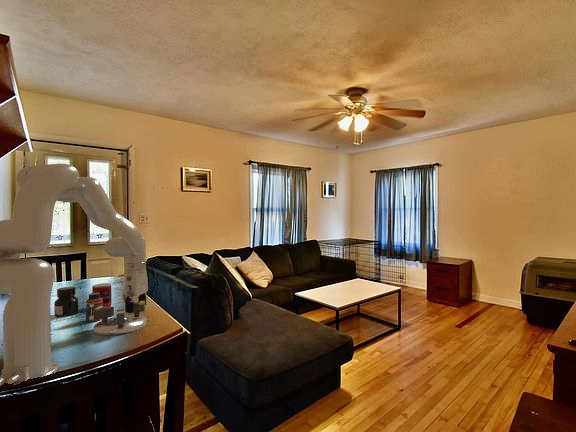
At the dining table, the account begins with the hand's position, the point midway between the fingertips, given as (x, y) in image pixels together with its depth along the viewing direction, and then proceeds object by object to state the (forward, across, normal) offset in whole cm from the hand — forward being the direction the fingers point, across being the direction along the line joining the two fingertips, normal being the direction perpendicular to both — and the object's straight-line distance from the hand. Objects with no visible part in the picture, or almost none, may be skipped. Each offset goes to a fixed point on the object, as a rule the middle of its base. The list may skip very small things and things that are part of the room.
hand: (136, 308), depth 120 cm
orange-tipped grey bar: (+3, -5, +10) cm, 12 cm away
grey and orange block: (+3, 0, 0) cm, 3 cm away
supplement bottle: (+6, +4, +20) cm, 21 cm away
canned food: (+6, +24, +30) cm, 38 cm away
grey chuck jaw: (+3, -11, 0) cm, 11 cm away
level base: (+6, -5, +3) cm, 8 cm away
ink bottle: (+6, +13, +39) cm, 41 cm away
